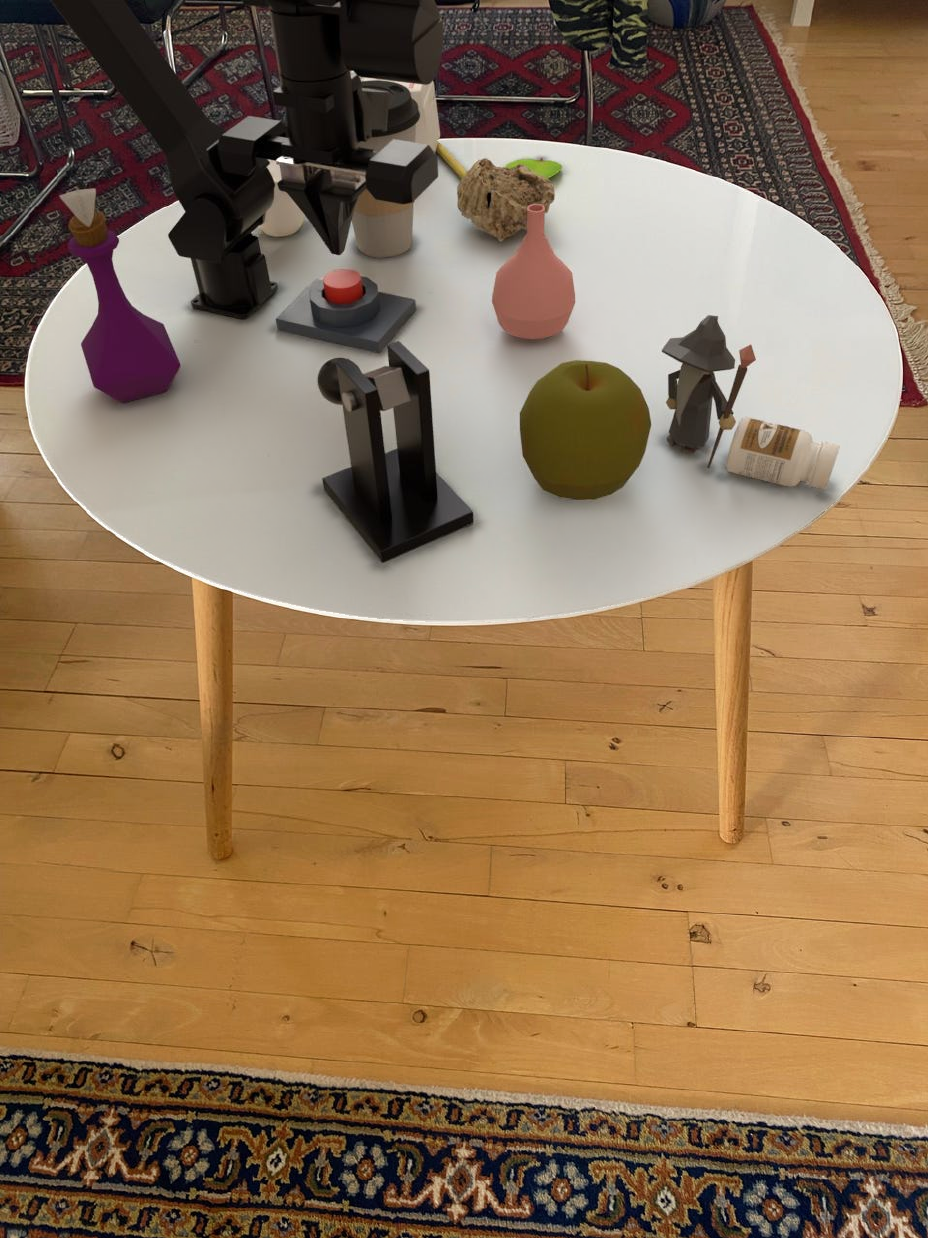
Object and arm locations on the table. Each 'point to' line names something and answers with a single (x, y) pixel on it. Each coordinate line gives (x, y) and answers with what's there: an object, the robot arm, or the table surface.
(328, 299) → the button
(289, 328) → the control block
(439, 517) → the bracket
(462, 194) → the brown rough chunky piece
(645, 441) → the apple
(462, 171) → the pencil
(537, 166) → the decorative leaf
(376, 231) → the coffee cup
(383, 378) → the lever
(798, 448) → the pill bottle
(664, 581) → the table surface
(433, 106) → the ink box
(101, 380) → the perfume bottle
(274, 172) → the cup
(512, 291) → the pink vase
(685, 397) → the wizard figurine
